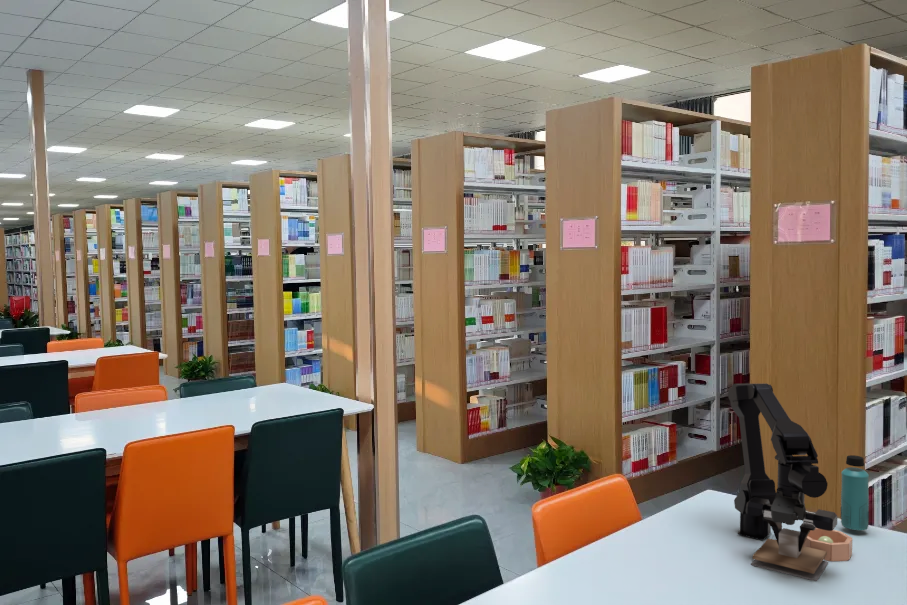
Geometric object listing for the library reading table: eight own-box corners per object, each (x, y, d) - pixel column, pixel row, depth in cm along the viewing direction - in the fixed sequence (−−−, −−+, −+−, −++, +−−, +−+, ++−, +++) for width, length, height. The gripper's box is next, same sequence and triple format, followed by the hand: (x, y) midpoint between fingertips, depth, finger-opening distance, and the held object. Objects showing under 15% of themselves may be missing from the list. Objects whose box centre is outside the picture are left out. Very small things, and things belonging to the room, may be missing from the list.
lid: (752, 558, 165) (752, 534, 164) (768, 541, 175) (768, 518, 174) (813, 573, 156) (814, 548, 156) (826, 554, 167) (827, 530, 166)
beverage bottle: (872, 537, 182) (874, 460, 181) (844, 535, 183) (846, 459, 182) (863, 527, 188) (864, 453, 187) (836, 526, 189) (837, 452, 188)
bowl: (796, 553, 172) (796, 537, 172) (806, 539, 180) (806, 524, 180) (846, 564, 165) (846, 548, 165) (854, 550, 173) (855, 534, 173)
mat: (750, 564, 165) (750, 563, 165) (765, 548, 175) (765, 547, 175) (816, 581, 157) (816, 579, 157) (828, 563, 166) (828, 561, 166)
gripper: (738, 484, 164) (738, 550, 165) (827, 500, 153) (826, 571, 153) (753, 473, 173) (752, 535, 174) (838, 488, 161) (837, 554, 162)
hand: (789, 549), depth 166 cm, fingers closed on lid, 4 cm apart
